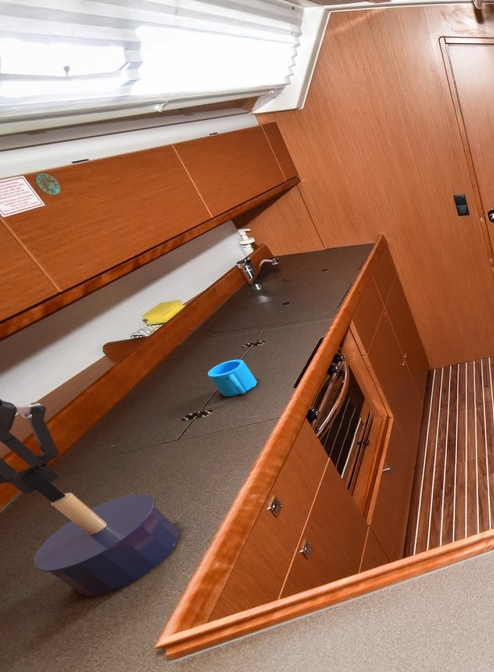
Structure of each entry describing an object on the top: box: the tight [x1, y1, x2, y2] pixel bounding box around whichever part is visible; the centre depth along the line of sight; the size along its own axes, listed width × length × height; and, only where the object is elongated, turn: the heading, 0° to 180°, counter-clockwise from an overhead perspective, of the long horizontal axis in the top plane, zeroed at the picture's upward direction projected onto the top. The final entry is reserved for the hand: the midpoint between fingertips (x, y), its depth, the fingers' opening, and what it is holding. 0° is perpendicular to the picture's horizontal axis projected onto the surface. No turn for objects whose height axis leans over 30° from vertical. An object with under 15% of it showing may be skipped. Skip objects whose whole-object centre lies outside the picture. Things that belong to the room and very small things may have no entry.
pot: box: [50, 506, 180, 597], centre depth 78 cm, size 14×14×10 cm
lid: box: [33, 492, 156, 573], centre depth 74 cm, size 15×15×10 cm
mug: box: [207, 359, 258, 397], centre depth 122 cm, size 12×8×8 cm
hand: (56, 496), depth 71 cm, fingers closed
